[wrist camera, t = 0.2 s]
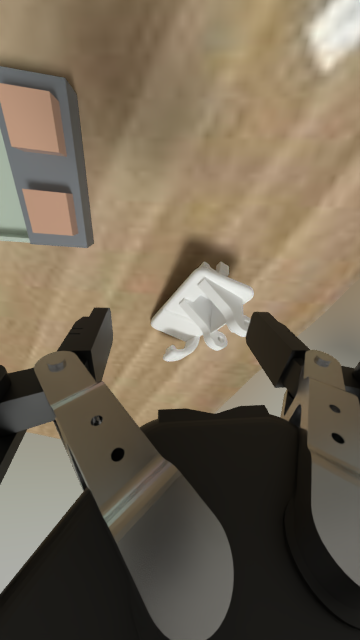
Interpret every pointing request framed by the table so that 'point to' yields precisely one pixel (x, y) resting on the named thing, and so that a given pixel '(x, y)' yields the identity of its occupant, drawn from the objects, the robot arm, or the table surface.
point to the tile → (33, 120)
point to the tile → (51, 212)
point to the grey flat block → (51, 159)
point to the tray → (10, 203)
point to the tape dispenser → (204, 310)
